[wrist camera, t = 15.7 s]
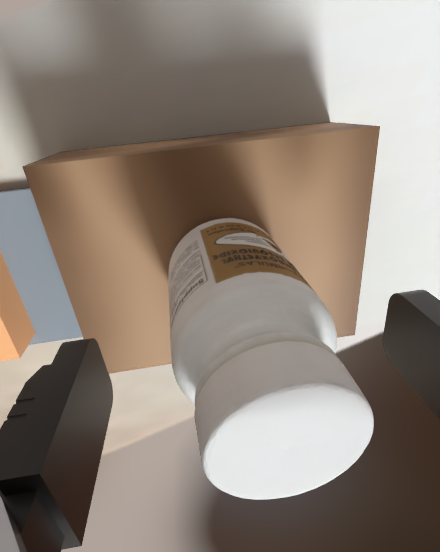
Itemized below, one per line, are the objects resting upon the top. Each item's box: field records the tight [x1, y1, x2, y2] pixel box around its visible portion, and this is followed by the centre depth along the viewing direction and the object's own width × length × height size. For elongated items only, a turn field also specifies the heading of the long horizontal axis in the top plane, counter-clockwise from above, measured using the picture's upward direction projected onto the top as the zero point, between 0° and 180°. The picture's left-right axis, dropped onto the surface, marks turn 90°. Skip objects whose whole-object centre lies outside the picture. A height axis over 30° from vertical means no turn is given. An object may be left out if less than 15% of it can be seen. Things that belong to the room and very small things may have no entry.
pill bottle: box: [168, 218, 374, 500], centre depth 10 cm, size 4×4×8 cm
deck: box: [23, 122, 380, 374], centre depth 15 cm, size 12×9×4 cm
